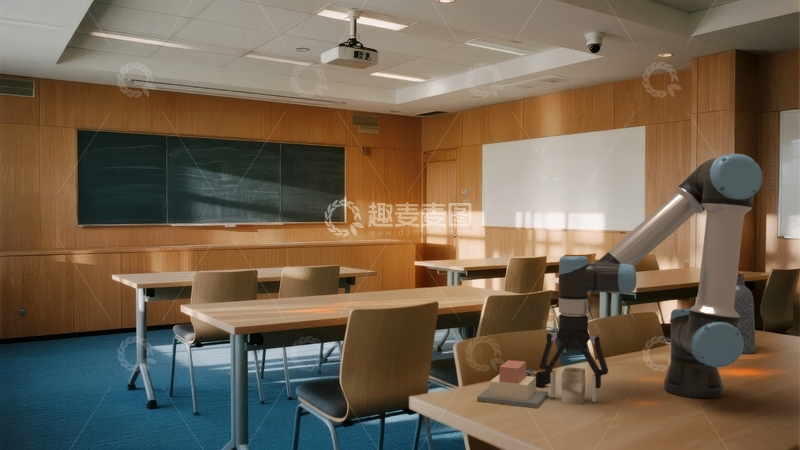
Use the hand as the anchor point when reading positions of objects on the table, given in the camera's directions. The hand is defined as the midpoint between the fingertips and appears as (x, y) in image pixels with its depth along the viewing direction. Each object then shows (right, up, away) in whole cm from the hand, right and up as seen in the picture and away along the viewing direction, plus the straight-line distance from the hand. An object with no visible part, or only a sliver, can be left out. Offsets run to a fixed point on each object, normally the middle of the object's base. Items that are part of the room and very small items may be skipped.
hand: (573, 398), depth 168 cm
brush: (-9, -1, +20) cm, 22 cm away
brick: (0, -1, 0) cm, 1 cm away
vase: (+79, -1, +67) cm, 104 cm away
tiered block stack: (-16, -1, +2) cm, 16 cm away
